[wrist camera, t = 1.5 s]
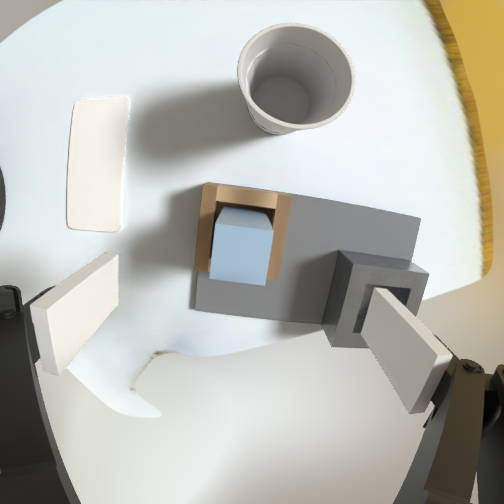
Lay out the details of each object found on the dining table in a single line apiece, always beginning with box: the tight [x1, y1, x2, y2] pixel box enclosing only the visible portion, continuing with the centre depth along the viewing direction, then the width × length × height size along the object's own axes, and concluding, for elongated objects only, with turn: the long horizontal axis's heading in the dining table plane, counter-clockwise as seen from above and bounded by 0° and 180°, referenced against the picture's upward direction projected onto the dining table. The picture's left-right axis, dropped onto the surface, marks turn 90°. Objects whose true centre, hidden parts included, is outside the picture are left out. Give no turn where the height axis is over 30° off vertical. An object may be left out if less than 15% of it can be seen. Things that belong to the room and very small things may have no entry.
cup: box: [237, 23, 356, 135], centre depth 24 cm, size 8×8×12 cm
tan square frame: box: [194, 183, 292, 280], centre depth 30 cm, size 8×8×4 cm
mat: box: [195, 182, 421, 324], centre depth 34 cm, size 24×14×1 cm, turn 82°
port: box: [321, 250, 429, 348], centre depth 32 cm, size 9×9×5 cm
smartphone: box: [67, 97, 130, 232], centre depth 30 cm, size 7×1×15 cm
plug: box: [209, 206, 274, 286], centre depth 27 cm, size 4×4×10 cm
